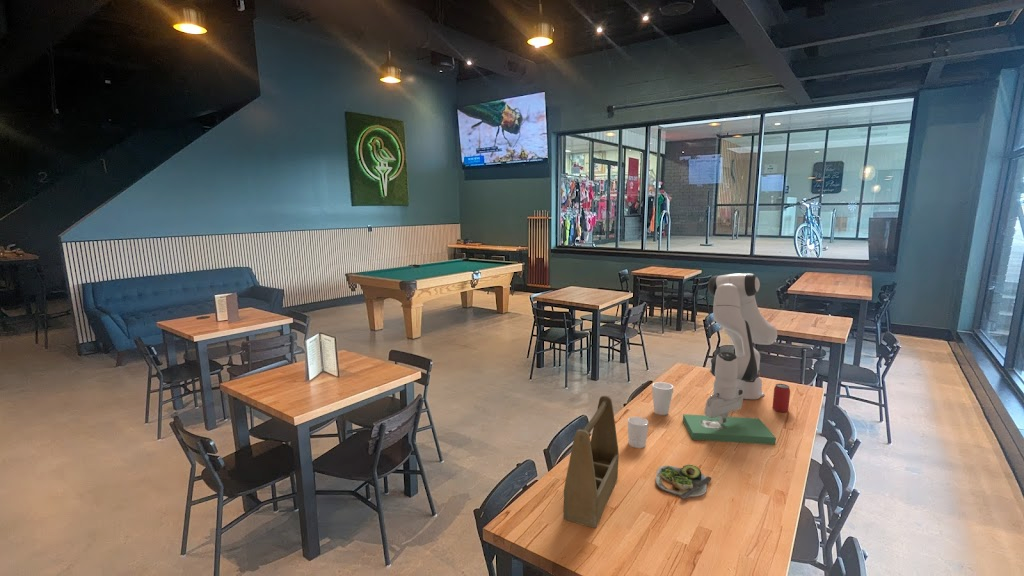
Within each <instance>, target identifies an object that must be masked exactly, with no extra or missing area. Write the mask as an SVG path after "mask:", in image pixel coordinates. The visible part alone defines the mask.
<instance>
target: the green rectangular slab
mask: <svg viewBox="0 0 1024 576" xmlns="http://www.w3.org/2000/svg"><path fill="white" fill-rule="evenodd" d="M682 421H683V424H684V425H685V427H686V430H687V431H688V434H689V435H690V437H691V439H692V440H693V441H694V440H695V441H696V440H697V441H711V442H712V441H713V442H725V443H727V442H729V443H740V444H741V443H743V444H759V445H776V442H777V441H776V440H777V437H776V435H774V433H773V432H772V431H771V430H770V429H769V428H768V426H766V424H765V423H764V422H763V421H762V420H761V419H760V418H757V417H741V416H738V417H737V416H728V417H727V422H725V423H722V424H721V423H719V418H718V416H717V417H714V418H710V417H708V416H706V415H705V414H703V415H702V414H687V413H686V414H682ZM711 422H716V423H717V424H718V425H719V427H709V424H710V423H711Z"/></svg>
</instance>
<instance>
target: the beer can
mask: <svg viewBox="0 0 1024 576" xmlns="http://www.w3.org/2000/svg"><path fill="white" fill-rule="evenodd" d="M790 396H791V389H790V386H789V385H787V384H784V383H776V384H775V386H774V389H773V397H772V399H773V400H772V409H773V411H776V412H778V413H787V412H788V411H789V409H790V407H789V406H790V398H791V397H790Z"/></svg>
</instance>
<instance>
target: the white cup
mask: <svg viewBox="0 0 1024 576" xmlns="http://www.w3.org/2000/svg"><path fill="white" fill-rule="evenodd" d="M648 431H649V420H648V419H646V418H645V417H641V416H631V417H629V418H628V419H627V437H628V445H629V446H630V447H632V448H636V449H643V448H645V447H646V446H647V445H646V444H647V437H648Z"/></svg>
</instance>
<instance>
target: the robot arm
mask: <svg viewBox="0 0 1024 576" xmlns="http://www.w3.org/2000/svg"><path fill="white" fill-rule="evenodd" d="M760 287H761V283H760V280H759V277H758V276H757V275H756V274H755V273H749V272H747V273H738V272H737V273H729V274H728V273H727V274H722V275H714V276H711V277H710V278H709V279H708V283H707V289H708V293H709V295H710V296H711V297H714V298H713V304H712V306H713V307H712V315H713V319H714V321H715V323H716V324H717V325H718V326H719V327H721V328H723V329H724V332H725V334H726V335H727V336H728V337H729V339H730V340H731V342H732V345H733V347H734V353H733V352H729V351H728V352H727V351H722V352H719V353H718V354H716V355H715V356H713V357H712V358H711V359H710V363H711V364H710V370H709V371H710V372H709V373H711V375H712V376H713V377H714V382H713V389H712V391H713V393H712V394H711V395H710V396H709V398H707V399H706V403H705V406H704V407H705V408H704V415H706V416H708V417H710V418H714V417H717V416H718V418H719V423H721V424H722V423H725V422H727V417H729V415H730V413H732V412H735V411H739V410H740V409H742V407H743V401H744V399H745V400H759V399H760V398H761V397H764V396H765V392H763V380H762V379H761V378H760V374H761V369H760V361H761V353H760V352H759V351H758V349H756V348H755V347H754V344H756V345H767V346H768V345H769V346H770V345H772V344H773V343H775V341H776V340H777V338H778V330H777V328H776V326H774V325H772V324H771V323H770V322H769V321H768V320H767V319H766V318H765V317H764V315H763V314H762V313H761V312H760V310H759V306H758V304H757V301H756V295H757V294H758V293H759V290H760Z"/></svg>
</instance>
